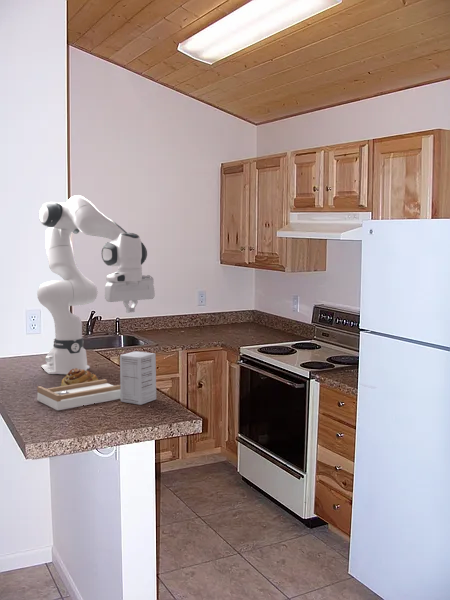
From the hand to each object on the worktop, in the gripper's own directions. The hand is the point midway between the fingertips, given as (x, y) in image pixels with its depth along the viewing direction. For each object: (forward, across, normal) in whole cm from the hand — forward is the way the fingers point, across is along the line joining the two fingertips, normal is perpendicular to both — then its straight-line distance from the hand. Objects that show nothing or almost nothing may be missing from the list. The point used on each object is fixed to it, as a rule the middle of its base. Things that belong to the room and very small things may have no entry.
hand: (130, 312), depth 241 cm
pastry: (+30, +15, -12) cm, 35 cm away
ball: (+27, +30, +4) cm, 40 cm away
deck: (+29, +23, +4) cm, 37 cm away
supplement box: (+29, +8, +18) cm, 35 cm away
